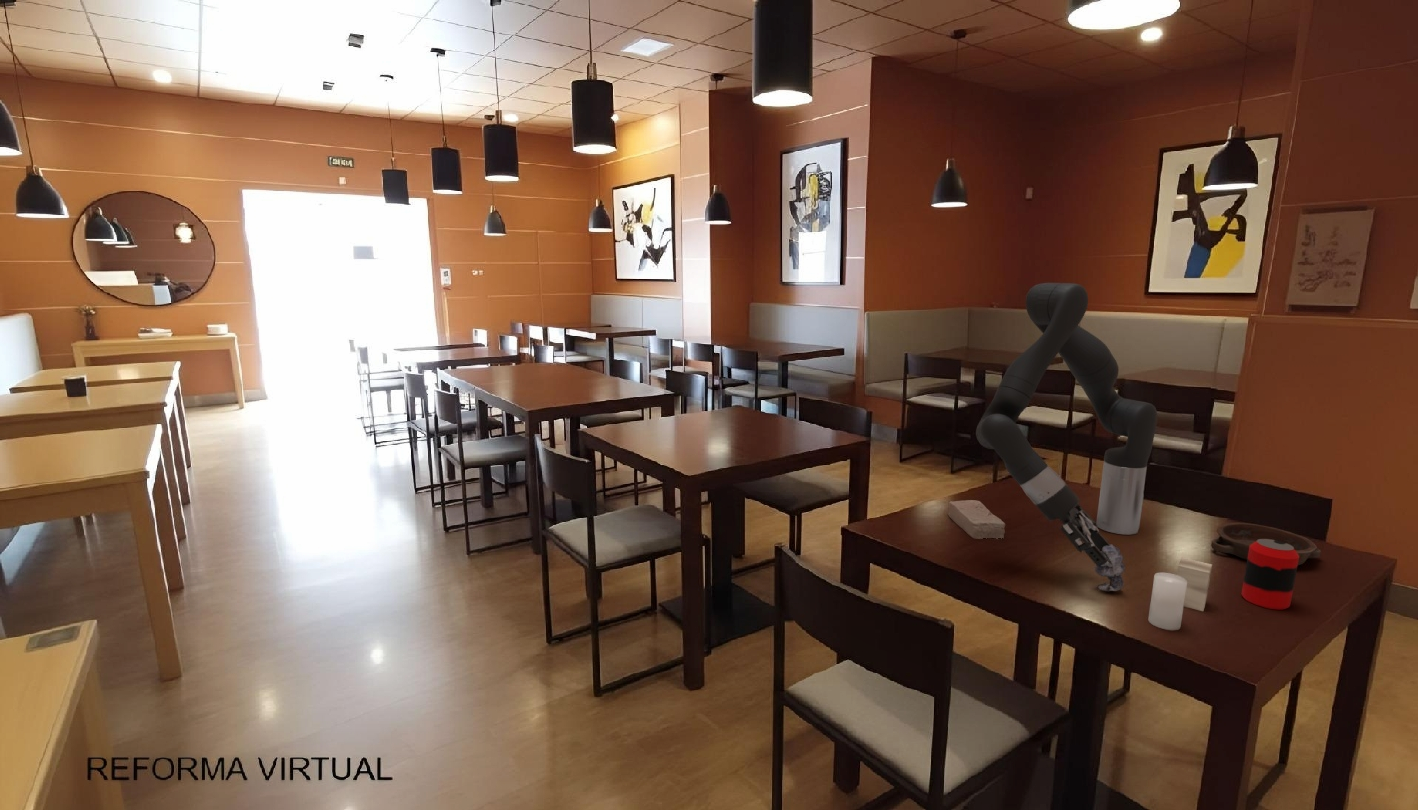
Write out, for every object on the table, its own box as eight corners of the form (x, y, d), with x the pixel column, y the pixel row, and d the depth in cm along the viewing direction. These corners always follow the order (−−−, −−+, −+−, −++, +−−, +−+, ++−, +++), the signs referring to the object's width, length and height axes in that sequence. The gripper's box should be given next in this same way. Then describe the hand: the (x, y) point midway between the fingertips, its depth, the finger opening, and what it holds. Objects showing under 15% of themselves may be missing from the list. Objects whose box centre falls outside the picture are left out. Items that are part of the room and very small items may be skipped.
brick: (1006, 539, 166) (1007, 521, 165) (972, 540, 166) (974, 522, 165) (977, 516, 182) (978, 499, 182) (946, 516, 182) (947, 499, 181)
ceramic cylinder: (1157, 614, 130) (1163, 570, 128) (1185, 625, 126) (1192, 580, 124) (1142, 620, 127) (1148, 575, 126) (1171, 632, 123) (1178, 586, 121)
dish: (1189, 539, 167) (1192, 520, 166) (1287, 543, 164) (1290, 524, 163) (1233, 569, 150) (1237, 548, 149) (1344, 575, 147) (1348, 553, 146)
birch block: (1175, 594, 138) (1181, 557, 136) (1206, 602, 135) (1212, 564, 133) (1172, 603, 134) (1178, 565, 133) (1203, 611, 131) (1209, 572, 129)
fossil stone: (1112, 598, 136) (1118, 551, 134) (1087, 587, 141) (1092, 542, 139) (1128, 592, 138) (1134, 546, 136) (1103, 582, 143) (1108, 537, 141)
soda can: (1295, 603, 134) (1306, 546, 132) (1281, 614, 130) (1291, 555, 128) (1250, 588, 140) (1259, 534, 138) (1234, 598, 136) (1243, 542, 134)
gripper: (1059, 491, 135) (1119, 559, 131) (1068, 474, 147) (1123, 536, 143) (1028, 511, 139) (1085, 578, 135) (1039, 493, 151) (1092, 554, 147)
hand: (1105, 556), depth 139 cm, fingers open, 8 cm apart
